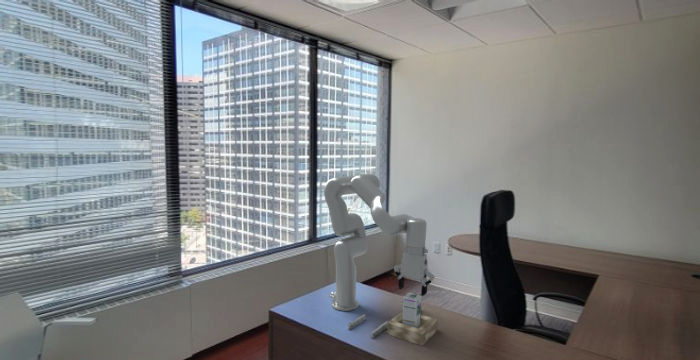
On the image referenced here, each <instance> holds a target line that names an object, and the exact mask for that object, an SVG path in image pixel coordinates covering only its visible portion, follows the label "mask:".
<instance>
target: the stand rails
mask: <svg viewBox="0 0 700 360" xmlns="http://www.w3.org/2000/svg"><path fill="white" fill-rule="evenodd" d="M366 315H367V314H364V313H363V314H362V315H360V316H359V317H356V318H355V319H354V320H352V321H351V322H349V323H348V324H347V330H348V331H351V330H353V328H355V327H356V326H358V325H359V324H361V323H362V322H364V321H366V318H367V316H366ZM388 322H389V321H385V322H383V323H382V324H381V325H379V326H378V327H376V328H375V329H374V330H373V331H370V338H371V339H374V338H376V337H377V336H378V335H380V334H381V333H382V332H384V331H385V330H387V323H388Z"/></svg>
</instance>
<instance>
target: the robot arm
mask: <svg viewBox="0 0 700 360" xmlns="http://www.w3.org/2000/svg"><path fill="white" fill-rule="evenodd" d="M380 186H381V183H380V179H379V178H378V176H377V175H375V174H373V173H363V174H357V175H348V176H345V175H344V176H336V177H335V176H334V177H332V178H330V179H328V181H326V183H325V184H324V189H323V195H324V199H325V202H326V205H327V208H328V212H329V217H330V221H331V227H332V231H333V232H334V234H335V236H338V237H343V236H347V235H349V236H348V237H346V238H341V239H340V240H338V241H337V242H336V243H335V244H334V246H333V254H334V260H335V291H334V292H333V291H331V292H330V295H329V298H330V299H332V301H331V307H332V308H333V309H335V310H337V311H340V312H341V311H342V312H351V311H354V310H356V309H358V308H359V307H360V302H359V300H357V266H356V265H357V264H356V262H355V260H354V259H355V258H357V257H359V256H363V255H364V254H366V253H367V252H368V248H369V242H368V238H367V237H368V236H367V233H366V228H365V224H364V221H363V219H362V218H361V216H360V215H359V214H358V213H355V212H354V213H353V212H352V213H351V212H350V213H349V211H348V207H347V204H346V202H345V199H344V198H343V197H342V196H344V195H346V196H347V195H354V194H356V195H357V196H358V197H359V198H360V199H361V200H362V202H364V203H365V205H367V207H368V208H369V209H370V215H371V217H372V220H373V222H374V223H375V225H376V226H377V228H379V229H380V230H381V231H382V232H383V233H384V234H386V235H387V236H389V237H390V236H391V237H395V236H398V235H403V234H406V236H405V250H404V251H403V253H402V258H401V261H400V262H401V263H400V264H397V265H394V266H393V269H394V272H395V275H396V277H397V280H398V290H402V289H403V288H404V287H405V278H409V279H413V280H416V281H420V282H421V294H420V295H421V297H423V296H425V295H427V293H428V285H430V284H431V283H432V282H433V281H434V279H435V278H436V277H435V275H434V274H432V273H431V272H430V271H429V267H428V265H429V264H428V256H427V254H428V252H429V249H427V248H426V238H427V237H426V236H427V221H426V220H425V219H423V218H419V217H413V216H411V215H408V214H398V215H394V216H392V215H391V214H390V213H388V211H386V209H385V208H384V206H383V204H384V203H385V201H386V195H385V193H384V192H383V191H382V190H381V189H380ZM427 278H428V279H427Z"/></svg>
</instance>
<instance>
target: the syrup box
mask: <svg viewBox="0 0 700 360" xmlns="http://www.w3.org/2000/svg"><path fill="white" fill-rule="evenodd" d="M402 311H403V324H405V325H408V326H411V327H414V328H417V329H419V328H420V327H421V315H422V296H421V294H418V293H413V292H407V293H406V294H405V295H404V296H403V297H402Z"/></svg>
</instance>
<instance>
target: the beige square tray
mask: <svg viewBox="0 0 700 360" xmlns="http://www.w3.org/2000/svg"><path fill="white" fill-rule="evenodd" d="M438 321H439V319H437V318H433V317H430V316H427V315H423V314H421V327H420V328H419V329H417V328H414V327H411V326H408V325H405V324H403V310H402V311H401V312H399V314H397V315H396V316H394V317H393V318H392V319H390V320H389V321H387V322H388V323H387V328H386V334H387V335H389V336H392V337H395V338H398V339H401V340H404V341H406V342H410V343H413V344H415V345H418V346H424V345H425V344H426V342H428V340H429V339H430V338H431V337H433V335H435V333H436V332H437V331H438V327H439V326H438V324H439V323H438Z"/></svg>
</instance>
